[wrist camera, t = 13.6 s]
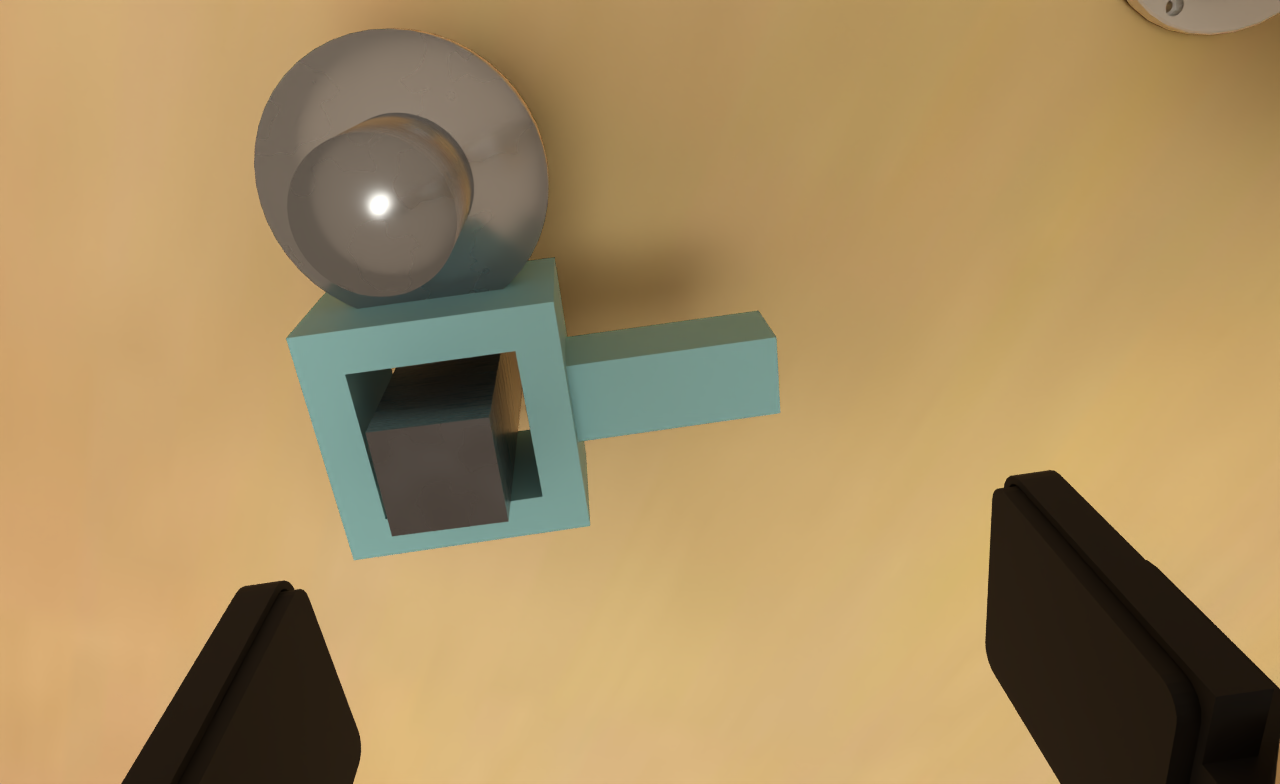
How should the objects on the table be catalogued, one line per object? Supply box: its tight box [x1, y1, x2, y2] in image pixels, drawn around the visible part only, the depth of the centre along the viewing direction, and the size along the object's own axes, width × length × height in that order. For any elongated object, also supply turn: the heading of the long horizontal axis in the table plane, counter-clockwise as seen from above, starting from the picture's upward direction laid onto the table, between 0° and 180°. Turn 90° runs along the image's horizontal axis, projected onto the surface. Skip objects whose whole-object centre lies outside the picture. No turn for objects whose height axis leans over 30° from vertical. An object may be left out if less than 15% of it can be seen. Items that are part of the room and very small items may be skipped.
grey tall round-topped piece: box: [254, 28, 549, 309], centre depth 33 cm, size 10×10×18 cm
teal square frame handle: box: [286, 257, 780, 560], centre depth 34 cm, size 17×9×6 cm, turn 97°
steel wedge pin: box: [365, 351, 522, 536], centre depth 36 cm, size 4×4×18 cm
